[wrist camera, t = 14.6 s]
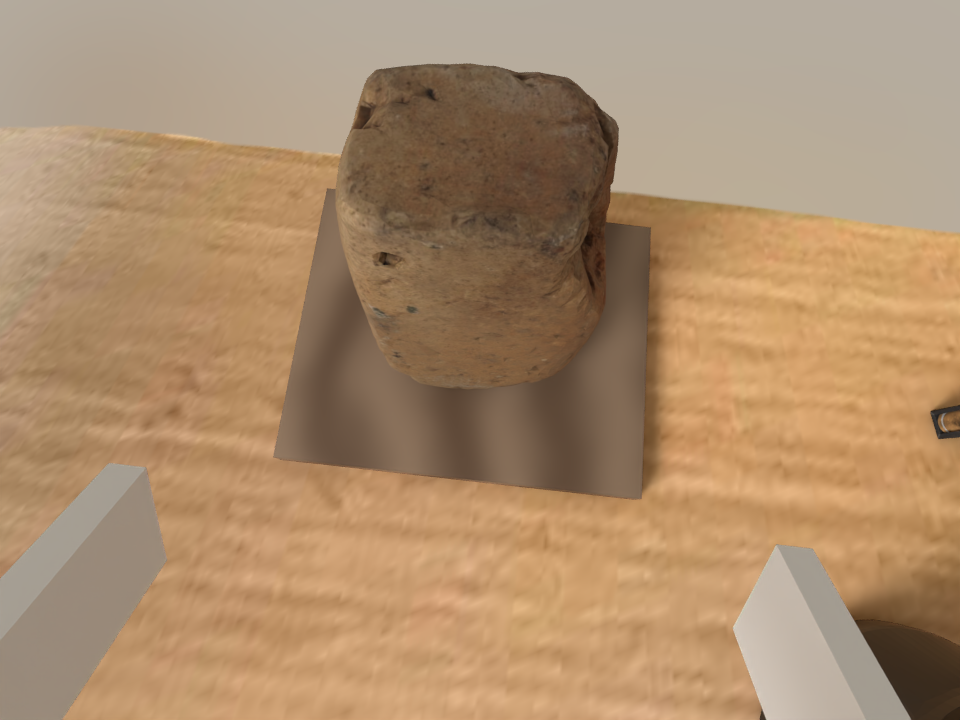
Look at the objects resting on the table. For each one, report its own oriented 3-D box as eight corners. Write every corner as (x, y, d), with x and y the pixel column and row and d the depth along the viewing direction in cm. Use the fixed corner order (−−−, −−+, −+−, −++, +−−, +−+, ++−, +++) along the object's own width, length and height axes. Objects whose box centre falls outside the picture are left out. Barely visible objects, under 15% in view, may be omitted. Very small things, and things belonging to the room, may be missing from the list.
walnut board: (643, 238, 41) (650, 227, 39) (634, 499, 36) (641, 498, 35) (331, 200, 40) (327, 188, 39) (280, 459, 36) (273, 457, 34)
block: (382, 385, 36) (301, 231, 16) (398, 273, 38) (342, 17, 18) (557, 402, 36) (682, 271, 16) (564, 290, 38) (682, 55, 18)
